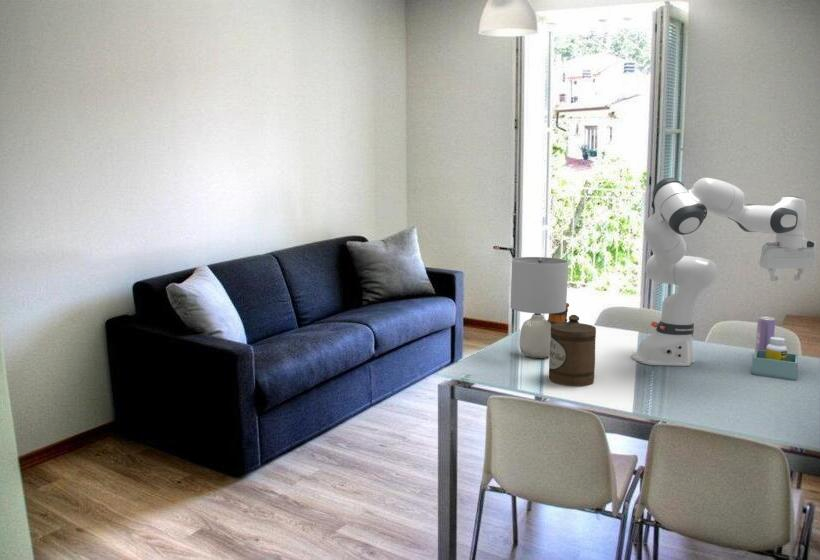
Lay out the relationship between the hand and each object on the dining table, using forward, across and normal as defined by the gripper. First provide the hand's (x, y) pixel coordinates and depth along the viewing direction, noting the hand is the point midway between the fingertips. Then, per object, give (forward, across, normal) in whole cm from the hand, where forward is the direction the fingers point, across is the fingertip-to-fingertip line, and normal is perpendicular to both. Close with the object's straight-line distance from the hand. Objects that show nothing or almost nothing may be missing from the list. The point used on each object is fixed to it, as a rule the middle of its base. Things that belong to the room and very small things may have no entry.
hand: (785, 280), depth 256 cm
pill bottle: (+30, -8, -9) cm, 33 cm away
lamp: (+31, -84, +23) cm, 93 cm away
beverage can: (+31, +3, +12) cm, 34 cm away
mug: (+31, -59, +64) cm, 93 cm away
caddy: (+31, -8, -9) cm, 33 cm away
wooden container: (+31, -83, -8) cm, 89 cm away
